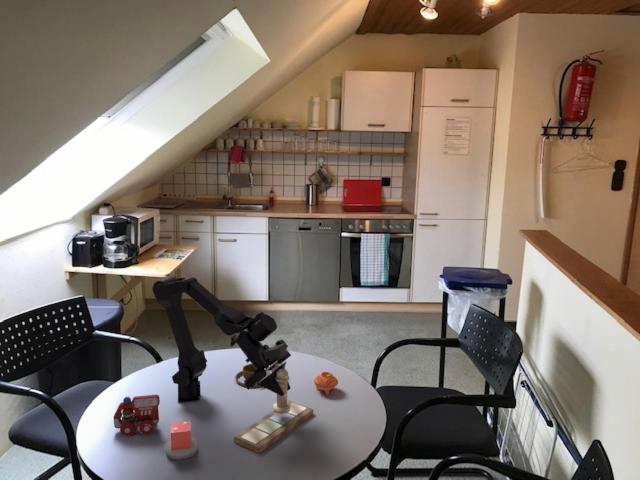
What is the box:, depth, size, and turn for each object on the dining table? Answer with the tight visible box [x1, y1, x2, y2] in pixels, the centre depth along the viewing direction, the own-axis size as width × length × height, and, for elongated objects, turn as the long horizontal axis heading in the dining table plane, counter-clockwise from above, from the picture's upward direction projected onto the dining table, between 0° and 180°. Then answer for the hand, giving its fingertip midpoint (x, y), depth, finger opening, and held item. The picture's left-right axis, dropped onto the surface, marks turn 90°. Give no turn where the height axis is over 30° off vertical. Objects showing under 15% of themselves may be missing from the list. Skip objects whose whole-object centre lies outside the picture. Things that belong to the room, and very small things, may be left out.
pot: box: [313, 371, 339, 396], centre depth 178 cm, size 8×8×7 cm
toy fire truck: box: [113, 394, 161, 437], centre depth 153 cm, size 7×12×10 cm, turn 101°
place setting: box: [234, 363, 266, 391], centre depth 188 cm, size 18×20×6 cm
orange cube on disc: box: [165, 420, 198, 461], centre depth 144 cm, size 8×8×8 cm
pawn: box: [272, 368, 291, 414], centre depth 157 cm, size 5×5×13 cm
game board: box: [233, 400, 314, 454], centre depth 157 cm, size 25×9×2 cm, turn 146°
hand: (286, 392), depth 157 cm, fingers closed on pawn, 3 cm apart
